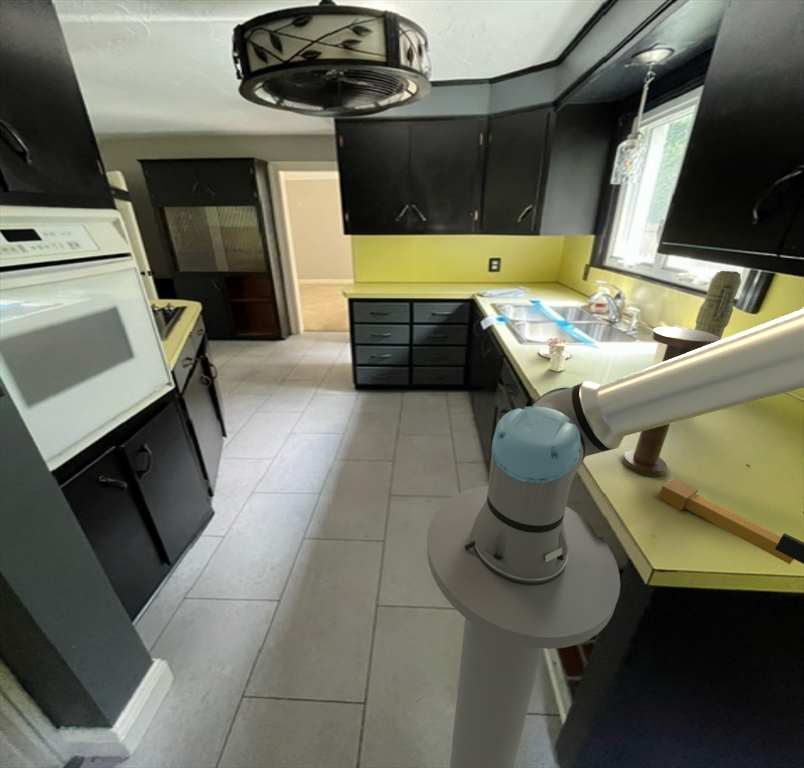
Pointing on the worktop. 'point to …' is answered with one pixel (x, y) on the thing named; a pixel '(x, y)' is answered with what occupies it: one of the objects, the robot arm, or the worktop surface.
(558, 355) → the pepper shaker
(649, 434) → the dark brown spool
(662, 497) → the wooden t-shaped block
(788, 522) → the worktop surface
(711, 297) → the greenish-grey tall rounded piece
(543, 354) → the teacup
